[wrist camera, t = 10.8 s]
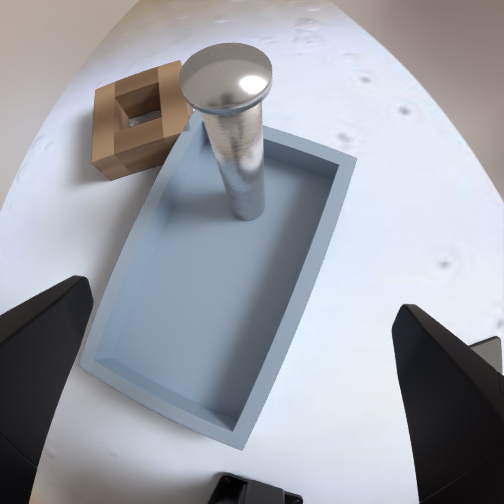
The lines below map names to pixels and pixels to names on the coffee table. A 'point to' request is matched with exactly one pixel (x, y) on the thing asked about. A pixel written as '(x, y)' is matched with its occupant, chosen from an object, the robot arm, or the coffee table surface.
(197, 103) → the metal pin
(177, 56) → the coffee table surface
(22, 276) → the coffee table surface
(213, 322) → the tray
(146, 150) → the pin block
